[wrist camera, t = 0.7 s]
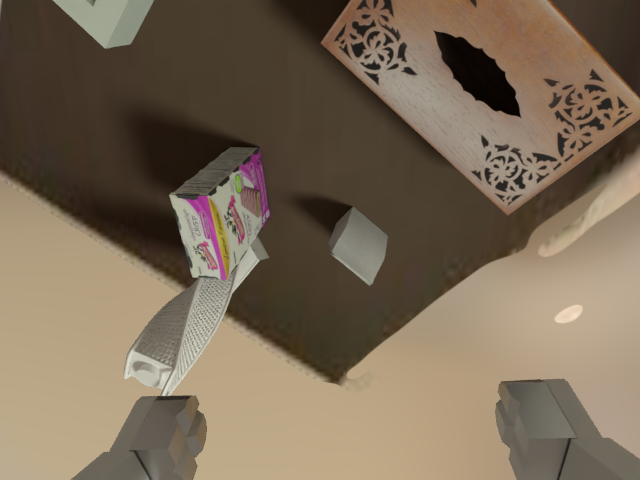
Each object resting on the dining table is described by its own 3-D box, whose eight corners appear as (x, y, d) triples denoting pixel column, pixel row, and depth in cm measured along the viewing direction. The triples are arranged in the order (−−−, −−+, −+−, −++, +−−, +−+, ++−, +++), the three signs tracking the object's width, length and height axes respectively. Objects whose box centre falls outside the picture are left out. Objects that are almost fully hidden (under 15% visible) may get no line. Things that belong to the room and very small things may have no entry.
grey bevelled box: (353, 206, 56) (340, 243, 48) (387, 236, 57) (381, 277, 49) (336, 222, 58) (322, 260, 50) (370, 250, 59) (361, 292, 51)
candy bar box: (273, 216, 60) (228, 282, 47) (242, 215, 61) (190, 279, 48) (262, 144, 54) (207, 195, 41) (228, 144, 55) (165, 194, 42)
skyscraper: (273, 263, 65) (190, 412, 42) (233, 273, 68) (135, 417, 45) (249, 220, 62) (144, 357, 39) (209, 232, 65) (89, 366, 42)
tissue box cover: (339, 33, 45) (320, 42, 37) (434, -99, 38) (437, -125, 29) (493, 178, 50) (507, 215, 42) (606, 87, 42) (651, 110, 34)
